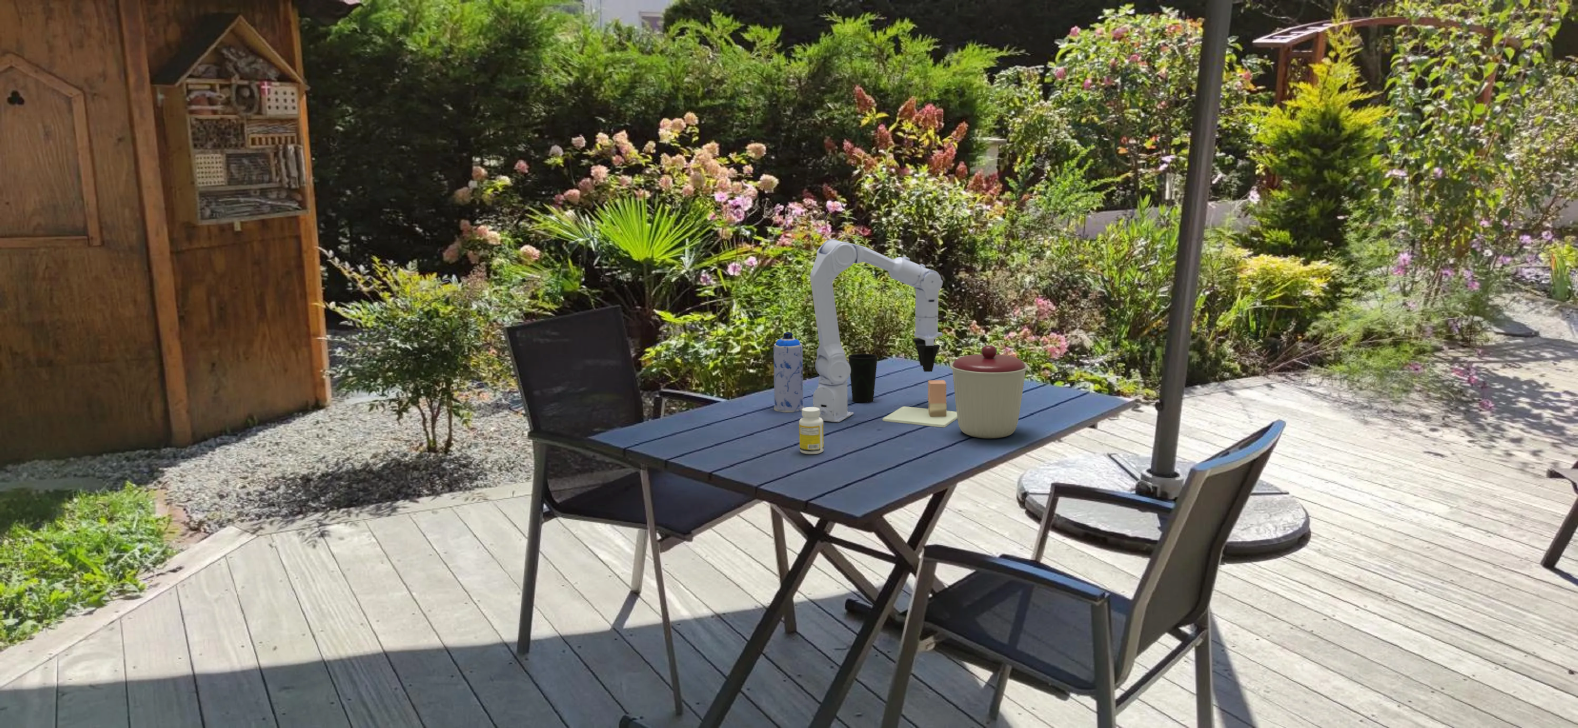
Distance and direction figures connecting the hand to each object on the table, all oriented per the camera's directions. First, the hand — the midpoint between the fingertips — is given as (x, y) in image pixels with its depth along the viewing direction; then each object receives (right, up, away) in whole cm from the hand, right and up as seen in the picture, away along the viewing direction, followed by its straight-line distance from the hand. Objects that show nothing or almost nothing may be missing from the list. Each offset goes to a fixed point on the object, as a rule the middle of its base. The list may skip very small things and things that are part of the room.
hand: (926, 368), depth 291 cm
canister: (+12, -15, -23) cm, 30 cm away
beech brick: (+2, -12, -8) cm, 14 cm away
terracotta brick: (+2, -8, -8) cm, 12 cm away
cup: (-16, -9, +11) cm, 21 cm away
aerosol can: (-35, -11, +3) cm, 37 cm away
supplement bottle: (-30, -19, -37) cm, 51 cm away
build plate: (-2, -12, -8) cm, 15 cm away
